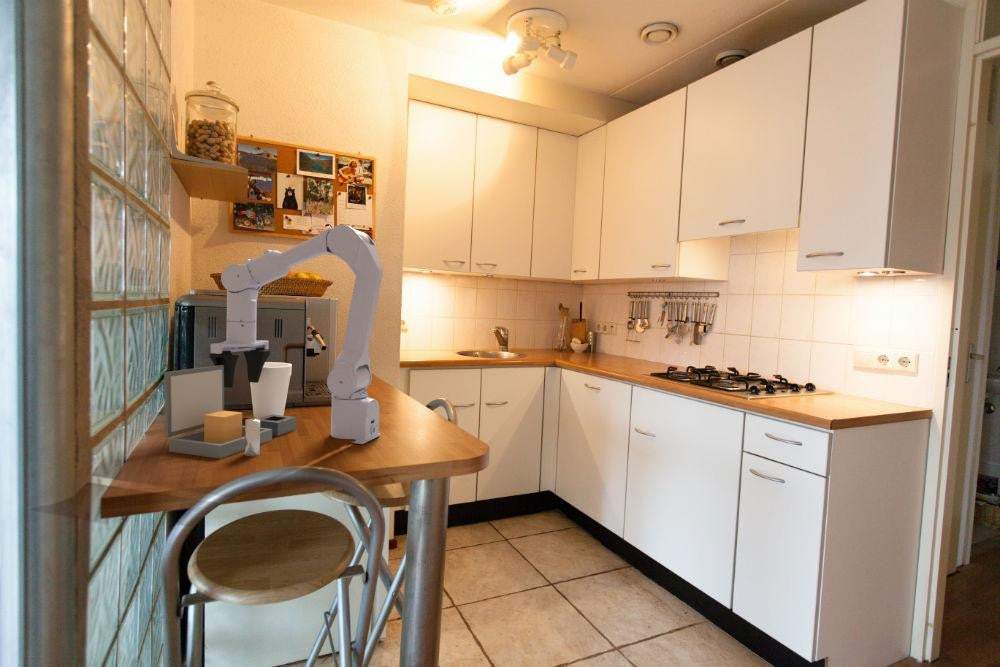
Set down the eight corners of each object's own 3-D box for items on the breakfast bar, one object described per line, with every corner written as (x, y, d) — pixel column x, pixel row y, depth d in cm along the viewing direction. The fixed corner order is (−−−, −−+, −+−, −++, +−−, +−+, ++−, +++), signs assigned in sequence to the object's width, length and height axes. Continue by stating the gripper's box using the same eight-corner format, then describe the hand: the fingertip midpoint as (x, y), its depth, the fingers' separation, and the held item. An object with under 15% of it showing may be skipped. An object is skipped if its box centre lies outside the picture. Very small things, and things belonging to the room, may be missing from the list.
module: (241, 443, 96) (242, 412, 96) (223, 449, 92) (224, 417, 91) (222, 441, 97) (223, 410, 97) (204, 447, 93) (204, 415, 92)
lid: (224, 365, 101) (221, 365, 102) (167, 372, 89) (164, 372, 89) (225, 422, 102) (221, 421, 102) (168, 437, 89) (165, 437, 89)
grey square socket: (296, 433, 108) (296, 417, 108) (277, 439, 103) (278, 422, 102) (272, 430, 110) (272, 414, 110) (252, 436, 104) (252, 420, 104)
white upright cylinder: (262, 457, 91) (263, 419, 91) (252, 461, 89) (253, 421, 88) (251, 455, 91) (252, 417, 91) (241, 459, 89) (242, 420, 89)
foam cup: (240, 417, 120) (242, 363, 119) (279, 412, 127) (280, 361, 126) (257, 425, 114) (259, 368, 113) (296, 419, 121) (299, 366, 120)
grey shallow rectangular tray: (271, 444, 99) (272, 429, 99) (220, 462, 87) (221, 445, 87) (225, 438, 102) (225, 423, 102) (169, 455, 89) (169, 439, 89)
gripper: (250, 320, 116) (249, 378, 116) (198, 321, 102) (197, 387, 102) (276, 321, 114) (275, 381, 115) (227, 322, 100) (226, 390, 101)
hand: (240, 384), depth 108 cm, fingers open, 7 cm apart
